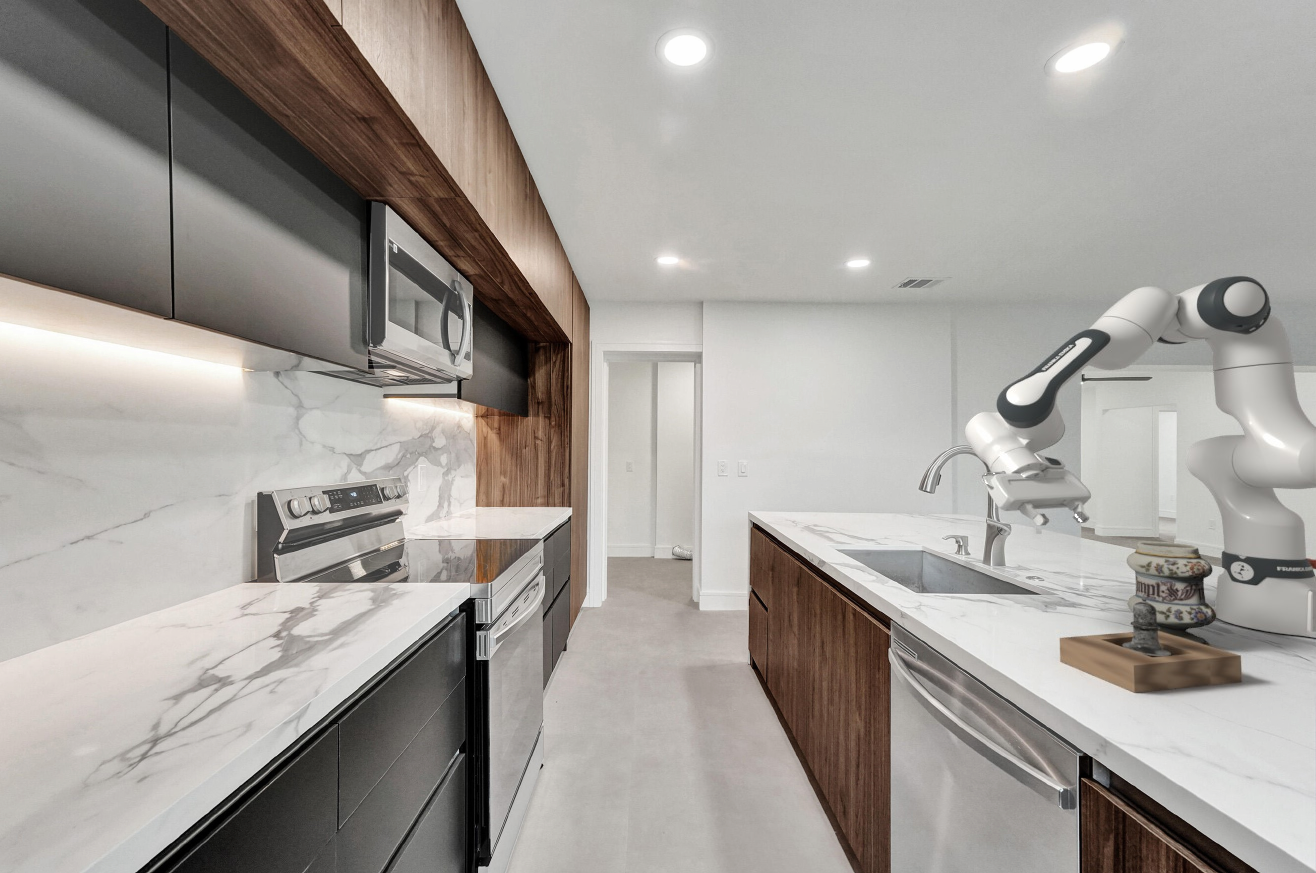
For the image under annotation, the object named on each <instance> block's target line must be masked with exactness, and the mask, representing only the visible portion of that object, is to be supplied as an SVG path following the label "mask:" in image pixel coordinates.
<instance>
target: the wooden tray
mask: <svg viewBox="0 0 1316 873" xmlns="http://www.w3.org/2000/svg"><path fill="white" fill-rule="evenodd" d="M1133 636H1134V633H1133V631H1130V632H1117V633H1105V634H1103V633H1102V634H1093V635H1092V634H1091V635H1079V636H1078V635H1076V636H1066V637H1065V636H1064V637H1059V659H1060V660H1059V661H1060V662H1061V663H1062V664H1065V665H1068V666H1070V667H1072V668H1075V669H1077V670H1079V671H1082V672H1085V673H1087V674H1089V675H1092V676H1093V677H1096V678H1099V679H1101V680H1103V681H1105V682H1108V683H1111V684H1113V685H1115V686H1118V687H1119V688H1122V689H1124V690H1127V691H1129V692H1132V693H1134V694H1136V693H1135V692H1138V693H1145V692H1157V691H1165V690H1174V689H1175V688H1176V689H1185V688H1193V687H1203V686H1212V685H1213V686H1214V685H1220V684H1221V685H1223V684H1232V683H1240V682H1243V674H1242V670H1243V669H1242V655H1240V654H1238V653H1233V652H1231V651H1226V650H1225V649H1220V648H1218V647H1214V646H1210V645H1209V646H1207V645H1204V644H1201V643H1197V642H1194V641H1191V640H1187V639H1184V638H1180V637H1177V636H1174V635H1170V634H1167V633H1164V632H1160V631H1158V641H1159V644H1160V646H1161V647H1162V648H1163V649H1166V650H1168V651H1169V652H1170V653H1171V655H1170V656H1162V657H1150V656H1147V655H1144V654H1141V653H1138V652H1135V651H1132V650H1130V649H1127V648H1124V647H1123V646H1122V644H1124V643H1129V642H1132V639H1133ZM1176 689H1175V690H1176Z"/></svg>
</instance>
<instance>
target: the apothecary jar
mask: <svg viewBox="0 0 1316 873" xmlns="http://www.w3.org/2000/svg"><path fill="white" fill-rule="evenodd" d="M1126 564H1127V565H1128V567H1129V568H1130V569H1131V570H1133V571H1134V575H1135V594H1133V595H1132V596H1130V597H1129V598H1128V600H1127V605H1128V606H1127V607H1128V609H1129V610H1130V611H1131V612H1132V613H1133V605H1134V604H1135V603H1138V602H1141V601H1143V600H1142V598H1143V597H1145V598H1146V599H1147V600H1146V602H1148V603H1149V604H1151V605H1153V606H1154V607H1155V608H1156V614H1157V625H1158V626H1159V627H1160V629H1159V630H1158V631H1160V632H1164V633H1167V634H1170V635H1174V636H1177V637H1180V638H1184V639H1187V640H1191V641H1194V642H1197V643H1201V644H1204V645H1207V646H1210V643H1209V641H1208V640H1206V639H1205V638H1203V637H1201V636H1198V635H1196V634H1195V633H1193V632H1190V631H1187V630H1189V629H1199V628H1203V627H1206V626H1209V625H1211V624H1212V623H1214V622H1215V621H1216V619H1217V617H1216V613H1215V611H1214V610H1213V608H1212V607H1211V606H1212V605H1210V604H1209V603H1207V602H1206V595H1205V588H1204V587H1205V586H1204V585H1205V582H1204V581H1205V580H1204V579H1206V578H1208V577H1209V576H1211V575H1212V573H1213V566H1212V565H1211V563H1209V562H1208V560H1206V559H1204V558H1203V557H1202V556H1201V554H1200V550H1199V547H1198V546H1195V545H1192V544H1185V543H1177V542H1167V541H1166V542H1164V541H1138V542H1137V544H1136V548H1135V551H1134V552H1132V553H1130V554H1129V555H1128V556H1127V557H1126Z"/></svg>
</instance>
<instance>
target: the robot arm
mask: <svg viewBox="0 0 1316 873" xmlns="http://www.w3.org/2000/svg"><path fill="white" fill-rule="evenodd" d="M1270 304H1271V301H1270V297H1269V294H1268V292H1267V290H1266V288H1265V287H1264V286H1263V284H1262V283H1260V281H1258V280H1257V279H1255V278H1253V277H1251V276H1244V275H1235V276H1234V275H1233V276H1227V277H1226V276H1225V277H1221V278H1217V279H1215V280H1212V281H1211V282H1206V283H1202V284H1199V285H1196V286H1193V287H1191V288H1188V289H1185V290H1184V291H1182V292H1180V293H1177V294H1173V293H1172V292H1170V291H1168V290H1167V289H1165V288H1162V287H1159V286H1149V285H1148V286H1142V287H1138V288H1136V289H1133V290H1132V291H1130V292H1129V293H1127V294H1126V295H1124V296H1123V297H1122V298H1120V299H1119V300H1118V301H1116V302H1115V303H1114V304H1113V305H1112V306H1111V307H1110V308H1108V309H1107V310H1106V311H1105V312H1104V313H1103V314H1102V315H1101V316H1100V317H1099V318H1098V319H1097V320H1096V321H1095V322H1094V323H1093V324H1092V325H1091V326H1090V327H1089V328H1087V329H1085V330H1083V331H1080V332H1077V334H1075V335H1073V336H1072V337H1071V338H1069V339H1067V341H1065V342H1064V343H1063V344H1062V345H1061V346H1060V347H1059V348H1057V349H1056V350H1055V351H1053V352H1052V353H1051V354H1050V355H1049V356H1048V357H1047V358H1046V359H1045V360H1043V361H1042V362H1041V363H1040V364H1039V365H1038V366H1036V367H1035V368H1034V369H1033V370H1031V371H1030V372H1028V374H1026V375H1024V376H1023V377H1020V378H1018V379H1017V380H1015V381H1013V382H1012V383H1010V384H1008V385H1007V386H1006V387H1005V388H1003V389H1002V391H1000V392H999V395H998V397H997V399H996V409H997V411H996V412H991V411H982V412H979V413H977V414H976V415H974V416H973V417H972V418H970V420H969V421H968V422H967V424H966V426H965V428H964V429H965V430H964V435H965V438H966V441H967V444H968V445H969V446H970V447H971V449H972V451H973V452H974V453H975V454H976V456H977V457H978V459H980V460H981V461H982V462H983V463H985V464H986V465H987V466H988V469H989V470H990V471H987V472H983V475H981V481H982V482H983V484H984V485H985V486H986V490H987V492H988V494H989V495H990V497H991V499H992V500H993V502H994V503H995V505H996V506H997V507H998V508H999V509H1000V510H1003V511H1005V512H1012V511H1013V512H1014V511H1015V512H1017V511H1019V512H1020V513H1021V514H1022V515H1024V516H1026V517H1027V518H1029V519H1030V520H1033V522H1034V523H1035V525H1036V526H1046V525H1047V524H1048V523H1049V522H1050V519H1049V517H1047V515H1046V514H1045V513H1041V512H1039V511H1038V510H1047V509H1065V508H1068V510H1069V511H1072V512H1073V513H1074V515H1073V516H1072V518H1073V519H1074V521H1076V523H1077V524H1085V523H1087V522H1088V521H1089V520H1090V516H1089V515H1088V514H1087V512H1085V507H1084V505H1085V504H1086V503H1088V501H1089V500H1090V499H1092V498H1091V497H1092V494H1091V491H1090V489H1089V488H1088V487H1087V486H1086V484H1084V482H1082V481H1081V480H1080V479H1079V477H1077V476H1076V475H1075V474H1074V473H1072V471H1070V470H1068V469H1065V468H1066V464H1065V463H1064V462H1063V461H1062V460H1061V459H1058V458H1055V457H1048V456H1045V455H1042V454H1039V452H1041V451H1042V450H1046V449H1048V448H1050V447H1051V446H1054V445H1056V444H1057V443H1059V441H1060V440H1061V439H1062V438H1063V437H1064V435H1065V431H1066V426H1065V423H1064V420H1063V417H1062V414H1061V412H1060V410H1059V406H1058V405H1057V402H1058V401H1057V399H1058V395H1059V393H1060V390H1061V389H1062V388H1064V387H1065V386H1066V385H1067V384H1068V383H1069V382H1071V380H1073V378H1075V377H1076V376H1078V375H1079V373H1080V372H1082V371H1083V370H1084V369H1085V368H1087V367H1088V366H1090V367H1093V368H1096V369H1098V370H1104V371H1115V370H1116V371H1118V370H1122V369H1126V368H1127V367H1130V366H1131V365H1132V364H1134V363H1135V362H1137V361H1138V360H1139V359H1140V358H1141V357H1143V356H1144V355H1145V354H1146V352H1147V351H1149V349H1151V347H1152V346H1154V344H1155V343H1156V342H1157V343H1160V344H1164V345H1182V344H1183V345H1184V344H1186V343H1189V342H1190V343H1191V342H1195V341H1196V342H1197V341H1201V340H1204V341H1206V343H1207V344H1208V345H1209V347H1210V348H1211V351H1212V370H1213V371H1212V373H1213V383H1214V384H1213V385H1214V396H1215V405H1216V407H1217V408H1218V409H1219V410H1220V412H1223V413H1225V414H1226V415H1229V416H1231V417H1233V418H1234V419H1235V420H1236V421H1237V422H1238V424H1239V425H1240V426H1241V428H1242V431H1243V433H1244V434H1231V435H1230V434H1228V435H1219V436H1214V437H1210V438H1205V439H1201V440H1198V441H1195V443H1193V444H1191V446H1189V448H1188V450H1187V452H1186V455H1185V465H1186V469H1187V470H1188V471H1189V473H1190V474H1191V475H1192V477H1195V478H1196V479H1197V480H1199V481H1200V482H1201V483H1202V484H1203V485H1204V486H1206V488H1207V489H1208V491H1209V492H1210V494H1211V496H1212V497H1213V499H1214V501H1215V503H1216V505H1217V507H1218V510H1219V512H1220V516H1221V521H1222V531H1223V545H1224V546H1223V548H1224V550H1223V551H1221V556H1220V561H1221V568H1223V569H1224V570H1223V572H1222V573H1221V574H1219V575H1218V576H1217V582H1216V589H1215V590H1216V594H1215V605H1210V606H1211V607H1212V608H1213V610H1214V611H1215V613H1216V619H1219V620H1221V621H1223V622H1226V623H1229V624H1233V625H1236V626H1240V627H1243V628H1247V629H1248V628H1249V629H1254V630H1258V631H1264V632H1268V633H1269V632H1270V633H1275V634H1282V635H1283V634H1284V635H1289V636H1291V635H1293V636H1300V637H1301V636H1302V637H1310V638H1315V639H1316V578H1315V577H1316V574H1315V571H1314V570H1316V559H1311V558H1307V554H1306V552H1307V550H1306V548H1307V547H1306V531H1305V522H1304V520H1303V518H1302V517H1301V516H1300V515H1299V514H1298V513H1296V512H1295V511H1293V510H1291V509H1289V508H1288V507H1287V506H1285V505H1284V504H1283V503H1282V502H1281V500H1280V499H1279V498H1278V497H1277V495H1276V492H1275V490H1274V489H1285V490H1286V489H1287V490H1288V489H1289V490H1306V489H1316V426H1315V424H1313V423H1312V421H1310V419H1309V418H1308V416H1307V415H1306V414H1305V412H1304V410H1303V408H1302V406H1301V405H1300V401H1299V398H1298V393H1297V385H1296V381H1295V371H1294V360H1293V352H1292V348H1291V345H1290V340H1289V337H1288V334H1287V331H1286V329H1285V327H1284V324H1283V322H1282V321H1281V320H1280V318H1279V317H1277V316H1274V315H1271V312H1272V306H1271V305H1270Z"/></svg>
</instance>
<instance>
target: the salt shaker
mask: <svg viewBox="0 0 1316 873" xmlns="http://www.w3.org/2000/svg"><path fill="white" fill-rule="evenodd" d="M1142 600H1143V601H1141V602H1138V603H1135V604H1134V605H1133V612H1132V614H1133V621H1131V622H1130V625H1131V626H1132V630H1133V631H1132V632H1133V633H1134V636H1133V639H1132V642H1129V643H1124V644H1122V646H1123V647H1124V648H1127V649H1130V650H1132V651H1135V652H1138V653H1141V654H1144V655H1147V656H1150V657H1162V656H1170V655H1171V653H1170V652H1169V651H1168V650H1166V649H1163V648H1162V647H1161V646H1160V644H1159V641H1158V630H1159V629H1160V627H1159V626H1158V625H1157V614H1156V608H1155V607H1154V606H1153V605H1151V604H1149V603H1148V602H1146V600H1147V599H1146V598H1145V597H1143V598H1142Z"/></svg>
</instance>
